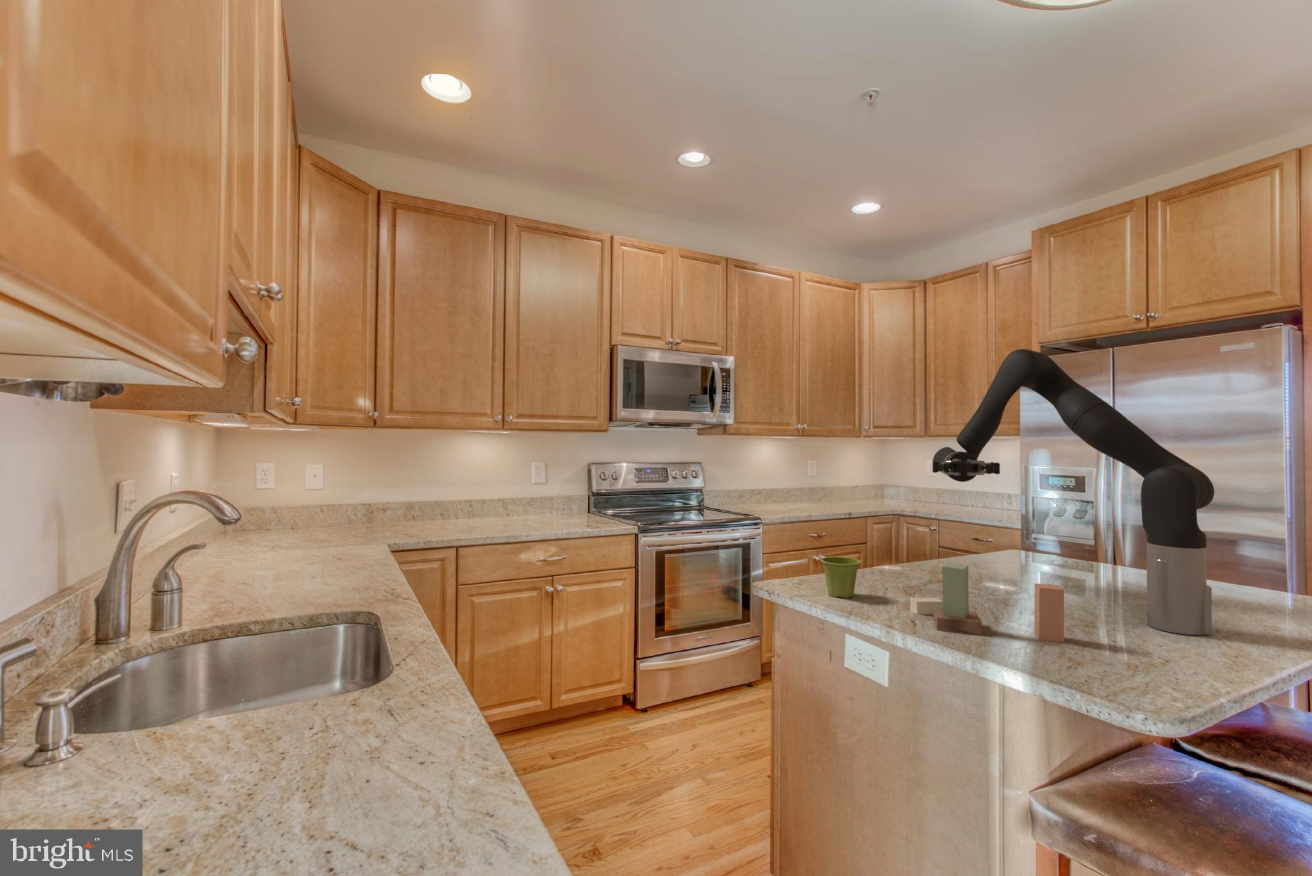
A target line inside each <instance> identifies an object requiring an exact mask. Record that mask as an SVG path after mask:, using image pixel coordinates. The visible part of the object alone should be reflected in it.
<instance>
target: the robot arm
mask: <svg viewBox="0 0 1312 876" xmlns="http://www.w3.org/2000/svg"><path fill="white" fill-rule="evenodd" d="M1021 388H1027V389H1030V390H1032V391H1033V392H1035V393H1036V394H1038V395H1039V396H1041V397H1042V398H1044V399H1045V400H1047V401H1048V403H1050V404H1051V405H1052V406H1053V407H1054V409H1055V410H1056V411H1057V413H1058V415H1059V416H1060V418H1061V420H1062V422H1063V423H1064V424H1065V425H1066V427H1067V428H1068V429H1069V430H1070V431H1072V432H1073V433H1074V434H1075V435H1076V436H1078V437H1079V439H1081V440H1082V441H1083V442H1084V443H1086V444H1087V445H1088V446H1090V447H1092V449H1094V450H1096V451H1098V452H1100V453H1102V454H1103V455H1105V456H1108V457H1109V458H1111V459H1113V460H1115V461H1118V462H1120V463H1122V464H1124V465H1125V466H1127V467H1129V468H1130V469H1132V470H1134V471H1135V472H1136V473H1137V474H1138V475H1139V476H1141V477H1142V478H1143V480H1142V483H1141V489H1140V504H1141V506H1140V507H1141V523H1142V527H1143V530H1144V532H1145V534H1146V625H1148V626H1149V627H1151V628H1154V629H1156V630H1159V631H1164V632H1169V633H1173V634H1174V633H1175V634H1179V635H1189V636H1204V635H1206V636H1207V635H1208V636H1212V635H1213V634H1212V632H1213V631H1212V627H1213V626H1212V622H1213V621H1212V618H1213V617H1212V615H1213V614H1212V613H1213V612H1212V597H1213V596H1212V594H1213V593H1212V587H1211V586H1210V585H1208V584H1207V545H1208V544H1207V535H1206V533H1205V532H1203V531H1202V530H1201V528H1200V526H1199V523H1198V515H1197V511H1198V510H1200V509H1203V508H1205V507H1207V506H1208V505H1210V504H1211V503H1212V501H1213V500H1214V497H1215V487H1214V484H1213V482H1212V481H1211V479H1210V478H1209V476H1208V475H1207V474H1206V473H1204V472H1203V471H1202V470H1200V469H1199V468H1197V467H1195V466H1193V465H1192V464H1190V463H1189V462H1187V461H1186V460H1184V459H1183V458H1180V457H1179V456H1177V455H1176V454H1174V453H1173V452H1171V451H1169V450H1168V449H1166V448H1165V447H1163V446H1162V445H1160V443H1158V442H1157V441H1155V440H1154V439H1153V438H1152V437H1150V436H1149V434H1147V433H1146V432H1144V430H1142V429H1141V428H1140V427H1138V426H1137V425H1136V424H1134V422H1132V421H1131V420H1130V419H1128V418H1127V417H1126V416H1124V415H1123V414H1122V413H1121V412H1120V411H1119V410H1117V409H1116V408H1114V407H1113V406H1112V405H1110V403H1108V402H1107V401H1105V400H1104V399H1103V398H1100V397H1099V396H1098V395H1096V394H1095V393H1094V392H1092V391H1090V390H1089V389H1087V388H1086V387H1085V386H1082V385H1081V384H1079V383H1078V382H1077V381H1075V380H1074V379H1073V378H1072V377H1070V375H1068V374H1067V372H1065V371H1064V370H1063V369H1062V367H1060V366H1059V365H1058V364H1057V362H1055V360H1053V359H1052V358H1051V357H1049V356H1048V355H1046V354H1045V353H1043V352H1039V351H1036V350H1032V349H1031V350H1030V349H1027V348H1019V349H1016V350H1013V351H1011V352H1010V353H1009V354H1008V355H1007V356H1006V357H1005V358H1004V360H1003V361H1002V363H1001V365H1000V367H999V368H998V370H997V372H996V374H995V376H994V378H993V380H992V382H991V384H990V385H989V387H988V390H987V391H986V393H985V395H984V397H983V399H982V400H981V402H980V404H979V406H978V407H977V409H976V410H975V411H974V414H972V416H971V418H969V420H968V421H967V422H966V424H965V425H964V427H963V428H962V429H961V430H960V432H959V434H958V435H957V437H956V442H957V444H958V445H959V446H960V447H961V448H962V449H963V450H964V451H956V450H955V449H953V448H951V447H950V446H946V447H945V446H944V447H941V448H940V449H938V451H936V452H935V454H934V455H933V459H932V468H931V469H932V473H935V474H937V473H939V472H940V473H942V474H944V475H946V476H947V477H948V478H950V479H952V480H954V481H955V482H960V483H965V482H969V481H972V480H973V479H974V478H976V477H977V476H984V475H986V474H987V475H992V474H995V475H999V474H1001V463H999V462H994V461H991V462H985V461H984V460H978V459H979V456H980V454H981V453H982V451H983V450H984V448H985V447H986V445H987V444H988V443H989V442H990V440H991V439H992V438H993V436H994V435H995V434H996V432H997V431H998V429H999V427H1000V424H1001V422H1002V419H1003V415H1004V412H1005V409H1006V406H1007V405H1008V403H1009V401H1010V400H1011V399H1012V397H1014V396H1013V395H1015V394H1016V392H1018V391H1019V390H1020V389H1021Z"/></svg>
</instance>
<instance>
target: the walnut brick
mask: <svg viewBox="0 0 1312 876" xmlns="http://www.w3.org/2000/svg"><path fill="white" fill-rule="evenodd" d="M933 621H934V626H935V630H937V631H941V632H949V633H958V632H963V633H962V634H967V633H969V635H976V634H980V635H979V636H982V635H983V622H982V621H981V619H980V617H979V615H978V613H977V612H976V611H972V610H969V614H968V615H967V616H966V617H965V619H963V618H957V617H952V616H946V615H943V608H934V614H933Z"/></svg>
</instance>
